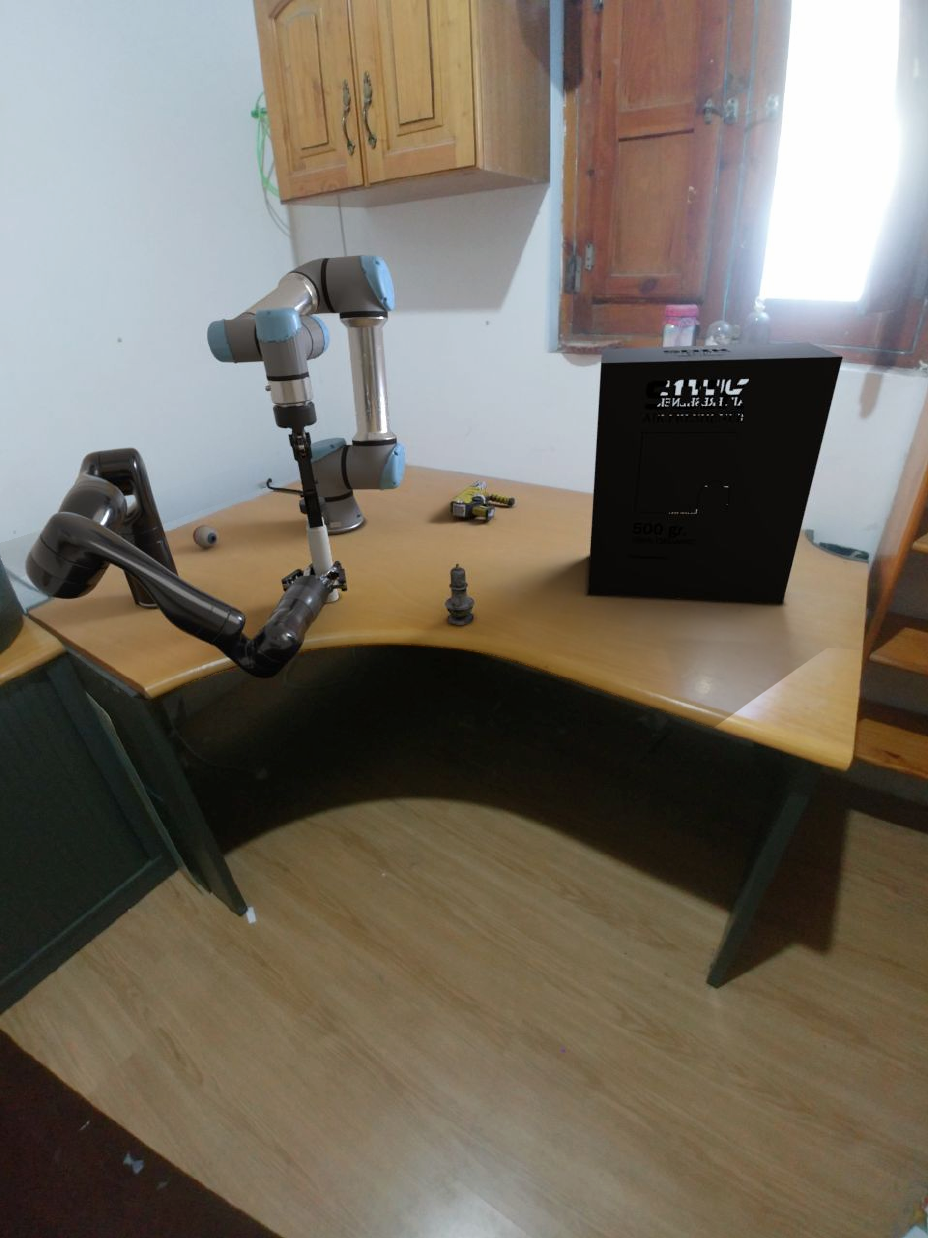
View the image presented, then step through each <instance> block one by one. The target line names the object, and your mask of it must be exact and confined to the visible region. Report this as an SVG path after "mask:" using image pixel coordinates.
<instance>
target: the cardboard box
mask: <svg viewBox="0 0 928 1238" xmlns="http://www.w3.org/2000/svg"><path fill="white" fill-rule="evenodd" d="M843 358H844V356H842V355H840V354H838V353H835V352H832V351H830V350H828V349H825V348H824V347H823V348H822V347H820V346H818V345H815V344H813V343H810V342H777V343H776V342H775V343H774V342H773V343H744V344H743V343H741V344H716V345H715V344H713V345H711V344H709V345H684V346H683V345H679V346H676V345H675V346H650V347H649V346H648V347H647V346H646V347H617V348H616V347H615V348H614V347H613V348H602V349H601V359H600V373H599V374H600V375H599V389H598V390H599V391H598V392H599V393H598V408H597V411H598V412H597V426H596V442H595V457H594V459H595V461H594V477H593V478H594V479H593V496H592V512H591V527H590V547H589V561H588V562H589V563H588V579H587V580H588V581H587V595H588V596H589V595H590V596H610V597H631V598H649V599H650V598H651V599H667V600H687V601H688V600H689V601H707V602H708V601H709V602H728V603H729V602H730V603H746V604H747V603H751V604H768V605H783V604H784V601H785V597H786V591H787V588H788V583H789V580H790V575H791V573H792V567H793V563H794V558H795V555H796V551H797V547H798V543H799V537H800V534H801V530H802V526H803V522H804V517H805V514H806V509H807V506H808V501H809V497H810V495H811V494H810V493H811V489H812V486H813V481H814V477H815V472H816V469H817V464H818V460H819V455H820V452H821V448H822V445H823V440H824V435H825V432H826V428H827V423H828V420H829V415H830V411H831V407H832V403H833V399H834V395H835V391H836V386H837V382H838V378H839V374H840V370H841V366H842V362H843ZM742 380H747V381H746V382H745V383H743V384H742V383H741V384H739V383H740V382H741V381H742ZM679 381H682V385H681V388H680V394H676V393H677V392H676V391H677V382H679ZM690 381H695V383H694V386H693V385H690ZM705 381H707V384H706V385H704V384H705ZM728 382H729V388H728V391H729V392H734V390H740V391H739V392H738V393H736V394H735V393H733V394H731V393H730V394H729V393H727V390H726V388H727V384H728ZM693 389H694V390H697V393H696V394H693ZM707 390H708V391H713V394H707ZM663 393H666V394H663Z"/></svg>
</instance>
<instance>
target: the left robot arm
mask: <svg viewBox="0 0 928 1238" xmlns="http://www.w3.org/2000/svg"><path fill="white" fill-rule="evenodd" d="M129 496H134V501H133V502H132V503H131V504H129V506H128V503H127V499H126V497H129ZM110 565H113V566H115V567H117V568H119V569H121V570H122V571H123V574H124V576H125V580H126V582H127V585H128V587H129V590H130V592H131V595H132V598H133V600H134V604H135V605H136V606H140V607H142V608H144V609H159V611H160V612H161V613H162V615H163V616H164V617H165V618H166V619H167V621H168V622H169V623H170V624H172V625H173V626H174V627H175V628H176V629H178V630H179V631H181V632H183V633H185V634H186V635H189V636H190V637H193V638H195V639H197V640H199V641H201V642H203V643H205V644H208V645H210V646H212V647H215V648H216V649H217V650H219V651H220V652H221V653H222V654H223V655H224V656H225V657H227V658H228V659H229V660H231V661H232V662H233V663H234V664H236V665H237V667H239V669H241V670H243V672H245V673H246V674H248V675H250V676H252V677H255V678H259V679H271V678H274V677H276V676H277V675H278V674H279V673H280V672H281V671H282V670H283V669H284V668H285V667H286V665H288V663H290V661H292V660H293V658H294V657H295V656H296V655H297V654H298V652H299V651H300V650H301V648H302V646H303V644H304V641H305V638H306V634H307V632H308V631H309V629H310V627H311V626H312V625H313V624H314V622H315V621H316V620H317V618H318V616H319V615H320V613H321V612H322V610H323V608H324V606H325V605H326V601H327V599H328V595H329V594H330V593H332V592H333V591H334V589H337V590H338V589H339V590H341V592H348V584H347V577H346V571H345V568H343V567H342V566H343V565H342V563H341V562H340V561H339V560H335V561H334V563H333V566H332V567H331V569H330V570H325V571H324V572H323V573H321V574H320V575H315V573H314V568H313V563H310V564H309V565H308V567H304V570H303V569H302V568H296V569H295V570H293V571H292V572H291V573H289V574H287V575H286V576H285V577H283V578H281V580H280V582H281V587H282V589H283V592H284V593H283V594H282V596H281V597H280V599H279V601H278V603H277V605H276V606H275V608H274V609H272V612H271V613H270V615H269V617H268V620H267V621H266V622H265V624H264V625H263V626H262V627H261V628H260V629H259V631H257V633H256V634H255V635H254V636H253V638H250V637H249V636H247V635H246V634H245V633H244V632H243V631H244V629H245V626H246V622H247V618H246V615H245V613H244V612H243V611H241V610H239V609H238V608H236V607H234V605H233V606H232V605H230V604H229V603H227V602H225V601H223V600H221V599H219V598H217V597H215V596H213V595H211V594H209V593H207V592H205V591H203V590H202V589H199V587H196V586H194V585H193V584H191V583H189V582H188V581H186V580H185V579H183V578H181V577H180V576H179V572H178V570H177V567H176V563H175V560H174V556H173V554H172V551H171V547H170V544H169V542H168V538H167V535H166V532H165V529H164V526H163V522H162V520H161V516H160V514H159V510H158V507H157V503H156V501H155V497H154V494H153V490H152V486H151V482H150V478H149V475H148V470H147V467H146V463H145V461H144V458H143V456H142V454H141V453H140V452H139V450H138V449H136V448H135V447H133V446H132V447H130V446H129V447H121V448H112V449H104V450H95V451H92V452H89V453H87V454H86V455H85V456H84V457H83V458H82V461H81V464H80V468H79V471H78V475H77V478H76V480H75V481H74V483H73V485H72V486H71V488H70V489H69V490H68V491H67V493H66V494H65V496H64V497H63V499H62V501H61V504H60V505H59V508H58V510H57V512H56V513H54V514H52V515H51V516H50V518H49V519H48V520H47V522H46V524H45V525H44V527H43V529H42V530H41V532H40V534H39V536H38V537H37V539H36V540H35V542H34V544H33V545H32V547H31V548H30V550H29V552H28V554H27V557H26V559H25V565H24V566H25V567H24V568H25V573H26V576H27V577H28V579H29V581H30V582H31V584H32V585H33V586H34V587H35V588H36V589H38V590H39V591H40V592H42V593H43V594H45V595H46V596H47V595H48V596H49V597H52V598H56V599H61V600H74V599H79V598H83V597H85V596H87V595H88V594H90V593H91V592H92V591H94V590H95V588H96V587H97V586H98V584H100V581H101V580H102V578H103V577H104V575H105V574H106V573H107V570H108V569H109V567H110ZM335 581H336V582H335ZM334 582H335V583H334Z"/></svg>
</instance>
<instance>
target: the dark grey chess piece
mask: <svg viewBox="0 0 928 1238" xmlns="http://www.w3.org/2000/svg"><path fill="white" fill-rule="evenodd" d="M449 575H450V583H449V585H448V586H449V589H450V594H451V595H450V597H449V598H447V599H446V600H445V601H444V606H445V608H446V610H447V612H448V613H449V615H447V618H446V620H447V622H448V623H450V625H451V624H452V625H453V626H464V625H468V624H470V623H472V622H473V621H474V619H475V616H474V614H473V613H472V611H473V609H474V606H475V600H474V598H472V597H471V596H469V595H468V593H467V592H468V591H467V588H468V586H469V583H467V580H466V570H465V568H463V567H461V566H460V564H459V563H456V564H455V567H453V568H451V570H450V573H449Z"/></svg>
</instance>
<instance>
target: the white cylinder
mask: <svg viewBox="0 0 928 1238" xmlns="http://www.w3.org/2000/svg"><path fill="white" fill-rule="evenodd" d="M322 521H323V526H322V527H316V528H310V527H309V522H308V517H306V519H305V523H306V527H305V531H306V537H307V541H308V547H309V553H310V557H311V562H312V563H313V568H314V573H315V575H320V574H321V573H323V572H324V571H325V570H330V569H331V567H332V566H333V564H334V563H333V557H332V551H331V545H330V540H329V535H328V534H327V528H326V525H325V524H324V520H323V517H322ZM335 582H336V581H335ZM335 582H334V583H335ZM339 596H340V595H339V592H338V589H334V591H333V592H332V593H330V594H329V595H328V599H327V601H326V603H327V604H329V603H334V602H335V601H338V599H339ZM326 603H325V604H326Z"/></svg>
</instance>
